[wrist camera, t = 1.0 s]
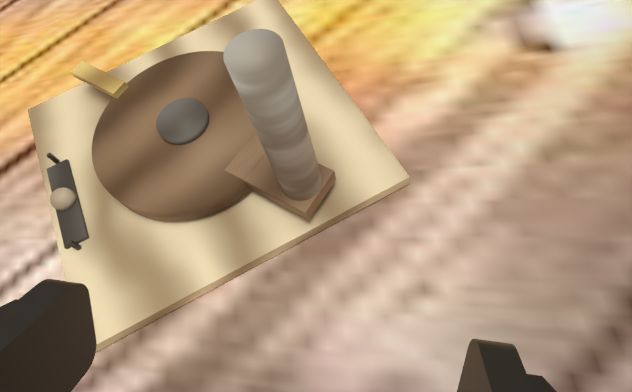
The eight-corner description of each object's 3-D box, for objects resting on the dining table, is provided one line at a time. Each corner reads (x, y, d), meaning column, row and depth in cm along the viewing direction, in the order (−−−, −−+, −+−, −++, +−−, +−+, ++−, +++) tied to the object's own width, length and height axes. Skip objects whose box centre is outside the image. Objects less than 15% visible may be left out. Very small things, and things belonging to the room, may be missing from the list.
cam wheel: (29, 146, 38) (-135, 16, 27) (145, 28, 43) (51, -127, 31) (261, 293, 29) (169, 196, 17) (376, 123, 34) (366, -44, 22)
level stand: (274, 1, 44) (268, -21, 42) (409, 183, 33) (410, 165, 31) (35, 116, 42) (15, 99, 40) (90, 355, 31) (67, 348, 28)
